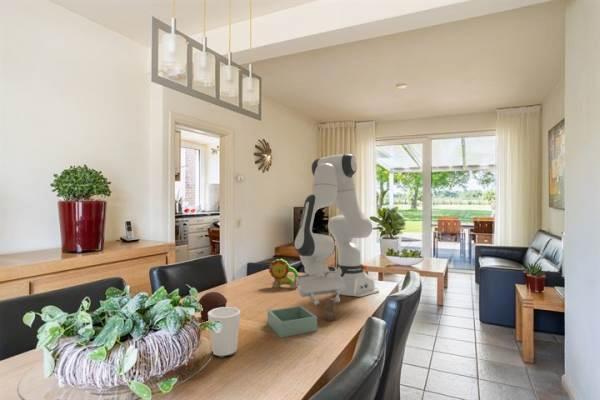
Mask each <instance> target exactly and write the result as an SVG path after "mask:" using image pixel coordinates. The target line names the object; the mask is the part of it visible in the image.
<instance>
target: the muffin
mask: <svg viewBox="0 0 600 400" xmlns="http://www.w3.org/2000/svg"><path fill="white" fill-rule="evenodd" d="M198 302H199V303H200V304H201V305H202V308H203V311H201V312H200V319H201V321H202V320H203V322H205V321H208V312H209V311H211V310H213V309H216V308H220V307H227V303H228V300H227V298H226V297H225V295H223V294H222V293H220V292H218V291H209V292H206V293H205V294H203V295H202V296H201V297H200V299H199V300H198Z"/></svg>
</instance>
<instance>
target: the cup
mask: <svg viewBox="0 0 600 400" xmlns="http://www.w3.org/2000/svg"><path fill="white" fill-rule="evenodd" d="M240 318H241V310H240V309H239V308H238V307H234V306H226V307H220V308H216V309H213V310H211V311H209V312H208V320H209V321H219V322H220V323H221V324H222V326H223V329H222V331H221V332H220V333H215V332H213V331H211V330H209V338H210V347H212V348H213V349H214V355H213V356H214V357H215V356H217V357H218V358H220V359H223V358H225V357H226V356H229V357H232V356H234V355H235V353H236V352H237V350H238V342H239V328H240V321H241V319H240Z"/></svg>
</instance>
